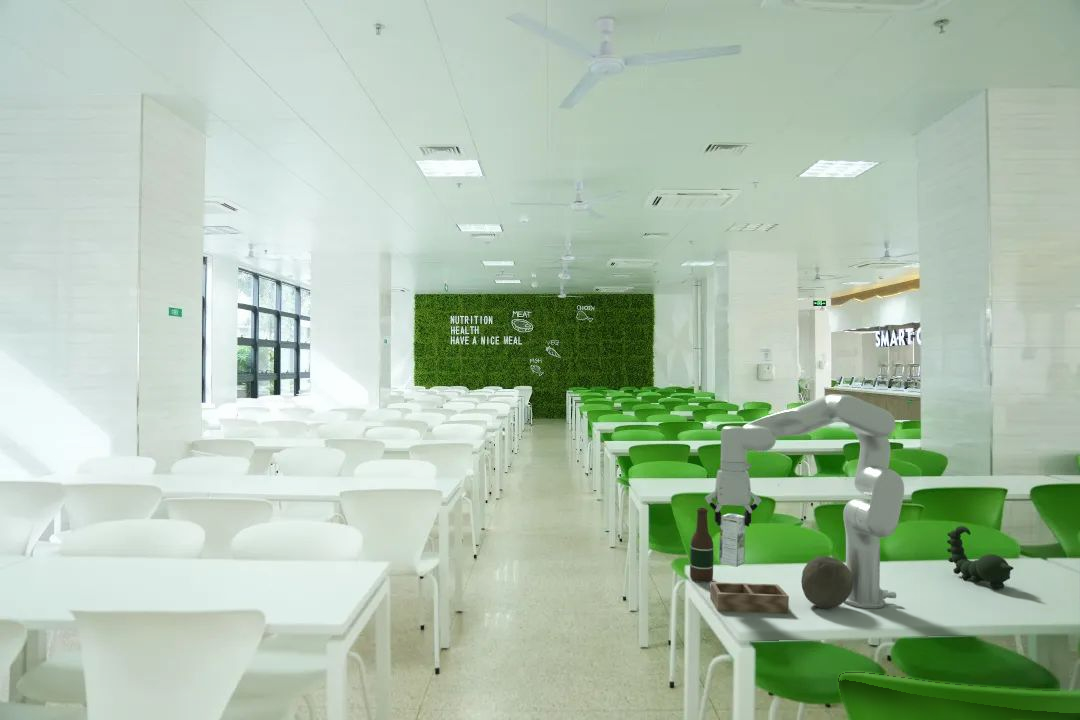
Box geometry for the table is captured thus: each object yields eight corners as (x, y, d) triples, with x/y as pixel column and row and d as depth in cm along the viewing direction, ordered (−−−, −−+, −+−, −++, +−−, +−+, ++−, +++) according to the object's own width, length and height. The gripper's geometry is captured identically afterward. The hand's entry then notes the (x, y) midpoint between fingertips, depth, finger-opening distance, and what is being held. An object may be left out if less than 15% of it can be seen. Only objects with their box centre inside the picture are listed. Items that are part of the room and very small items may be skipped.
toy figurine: (942, 578, 241) (1002, 595, 216) (938, 524, 243) (998, 534, 218) (964, 577, 243) (1027, 593, 218) (961, 523, 245) (1023, 533, 220)
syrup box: (726, 559, 209) (727, 512, 209) (745, 563, 205) (745, 515, 206) (718, 563, 205) (719, 515, 205) (737, 567, 201) (737, 518, 201)
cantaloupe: (835, 619, 194) (836, 566, 194) (791, 605, 206) (792, 555, 206) (861, 609, 203) (862, 559, 203) (818, 596, 214) (818, 548, 214)
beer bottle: (685, 576, 232) (686, 506, 233) (704, 574, 235) (705, 505, 235) (698, 583, 225) (699, 511, 225) (717, 581, 228) (718, 509, 228)
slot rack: (777, 600, 209) (777, 584, 209) (788, 613, 198) (788, 596, 199) (710, 598, 210) (710, 582, 211) (717, 610, 200) (717, 593, 200)
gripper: (759, 466, 209) (758, 523, 208) (702, 464, 210) (701, 521, 209) (766, 469, 201) (765, 528, 201) (706, 468, 202) (705, 527, 202)
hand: (732, 524), depth 205 cm, fingers closed on syrup box, 7 cm apart
